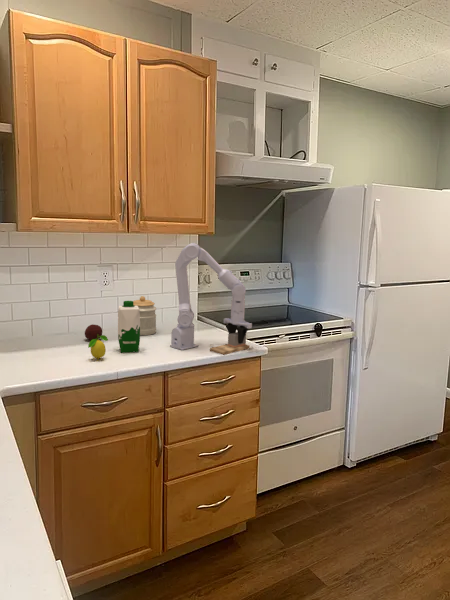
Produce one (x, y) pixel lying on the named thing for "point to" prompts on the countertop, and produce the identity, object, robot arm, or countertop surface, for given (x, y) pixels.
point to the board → (228, 349)
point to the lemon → (98, 347)
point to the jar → (146, 316)
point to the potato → (93, 332)
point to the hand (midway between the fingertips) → (236, 342)
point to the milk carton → (128, 327)
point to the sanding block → (235, 340)
